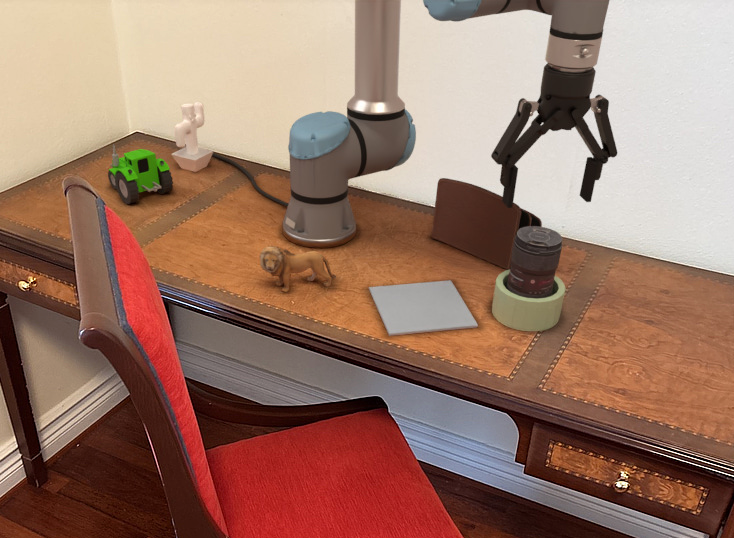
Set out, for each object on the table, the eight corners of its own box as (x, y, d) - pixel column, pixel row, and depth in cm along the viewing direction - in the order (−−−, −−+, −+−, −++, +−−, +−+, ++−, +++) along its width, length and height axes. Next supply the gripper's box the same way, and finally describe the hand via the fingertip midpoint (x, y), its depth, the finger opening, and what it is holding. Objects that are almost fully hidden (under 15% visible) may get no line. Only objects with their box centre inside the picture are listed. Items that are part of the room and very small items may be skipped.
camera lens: (548, 326, 140) (563, 248, 131) (501, 320, 141) (514, 243, 132) (548, 302, 146) (563, 227, 137) (504, 297, 147) (516, 222, 138)
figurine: (169, 170, 191) (161, 107, 182) (194, 158, 198) (188, 96, 188) (193, 176, 188) (187, 112, 179) (218, 164, 195) (212, 101, 186)
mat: (368, 289, 149) (368, 287, 149) (450, 282, 152) (451, 280, 152) (389, 336, 137) (389, 333, 136) (477, 327, 140) (478, 325, 139)
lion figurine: (266, 300, 145) (264, 255, 140) (257, 286, 149) (254, 242, 143) (340, 285, 150) (341, 241, 144) (330, 272, 154) (330, 229, 148)
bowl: (482, 299, 147) (486, 270, 144) (543, 293, 149) (549, 265, 146) (505, 334, 138) (510, 304, 134) (570, 328, 140) (576, 298, 136)
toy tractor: (141, 175, 188) (135, 133, 182) (179, 197, 179) (174, 153, 173) (99, 187, 182) (91, 144, 176) (135, 210, 173) (128, 166, 167)
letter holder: (509, 271, 156) (520, 204, 147) (430, 238, 166) (436, 173, 157) (537, 254, 162) (549, 188, 153) (459, 223, 172) (466, 160, 163)
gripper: (498, 76, 112) (481, 216, 125) (660, 69, 117) (627, 205, 130) (481, 61, 118) (466, 197, 131) (635, 55, 123) (606, 187, 136)
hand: (546, 201), depth 130 cm, fingers open, 13 cm apart
